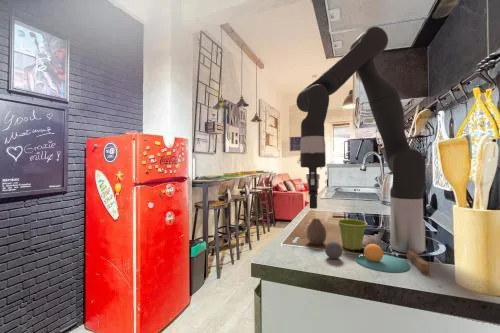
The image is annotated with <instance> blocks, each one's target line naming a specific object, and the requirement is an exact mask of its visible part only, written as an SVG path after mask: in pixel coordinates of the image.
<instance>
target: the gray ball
mask: <svg viewBox="0 0 500 333" xmlns="http://www.w3.org/2000/svg"><path fill="white" fill-rule="evenodd" d="M342 247H343V246H341V243H338V242H336V241H330V242H327V243H326V244H325V246H324V253H325V254H326V256H327V257H328V258H330V259H332V260H337V259H339V258H341V256H342V255H343V248H342Z"/></svg>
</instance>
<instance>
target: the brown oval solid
mask: <svg viewBox="0 0 500 333" xmlns="http://www.w3.org/2000/svg"><path fill="white" fill-rule="evenodd" d="M326 238H327V229H326V227H325V225H324V224H323V223H322V222H321V220H320V218H312V221H311V222H310V223H309V225H308V226H307V229H306V239H307V240H308V242H309V243H310V244H311V245H315V246H321V245H323V244H324V243H325V241H326Z"/></svg>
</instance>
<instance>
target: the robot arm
mask: <svg viewBox="0 0 500 333" xmlns="http://www.w3.org/2000/svg"><path fill="white" fill-rule="evenodd" d="M388 44H389V36H388V34H387V32H386V31H385V30H384V29H383V28H381V27H379V26H372V27H369V28H367V29H366V30H364V32H362V33H360V35H359V36H358V37H357V38H356V39H354V41H353V42H352V43H351V45H350V48H349V51H348V52H346V54H344V55H343V56H342V57H340V58H339V59H338V60H337V61H336V62H334V63H333V64H332V65H331V66H330V67H328V68H327V69H326V71H324V72H323V73H322V74H321V75H320V76H319V77H318V78H317V79H316V80H314V81H313V82H312V83H311V84H309V85H308V86H306V87H305V88H303V89H302V90H301V91H300V92H299V93H298V95H297V97H296V100H295V101H296V107H297V108H298V110H299V111H301V112H303V113H307V114H306V116H305V118H303V119H302V121H301V123H300V147H299V148H300V150H299V151H300V154H299V155H300V168H306V169H307V168H308V173H306V175H305V178H306V186H307V187H306V188H307V189H308V193H307V194H308V196H309V208H310V209H312V210H313V209H317V208H318V196H319V193H318V192H319V190H318V189H320V183H319V182H320V181H319V180H320V178H321V177H320V176H321V174H320V173H318V171H317V170H318V168H326V165H327V164H326V163H327V162H326V141H325V140H326V139H325V122H326V118H327V113H328V108H329V103H330V96H331V95H333V94H335V93H336V92H337V91H338V90H339V89H340V88H342V86H344V85H345V84H346V82H348V80H350V79H351V77H352V76H353V75H354V74H355V73H356V72H357V74H358V77H359V78H360V81H361V83H362V85H363V88H364V91H365V94H366V97H367V101H368V104H369V107H370V111H371V113H372V117H373V120H374V121H375V124H376V128H377V130H378V133H379V135H380V137H381V140H382V145H383V147H384V154H385V158H386V163H387V164H386V165H387V167H388V169H389V171H390V172H391V173H392V185H391V188H390V191H389V202H390V204H389V207H390V210H389V211H390V213H389V214H390V215H389V216H390V222H389V224H390V226H389V227H390V229H389V230H390V234H389V235H390V249H392V250H393V251H395V252H399V253H402V254H403V253H404V254H407V252H406V249H408V250H413V251H414V252H416V253H417V254H418V255H419V254H423V253H424V252H425V251H426V222H425V220H424V192H425V189H426V179H427V178H426V177H427V176H426V175H427V164H426V163H427V162H426V158H425V156H424V155H423V154H422V152H420V151H419V150H417V149H414V148H411V147H410V144H409V140H408V139H407V135H406V131H405V113H404V108H403V103H402V100H401V96H400V95H399V94H400V93H399V91H398V90H397V88H396V87H395V86H394V85H393V84H392V83H391V82H389V81H388V80H386V78H384V77H383V76H381V74H380V73H379V71H378V70H377V67H376V64H375V58H377V57H378V56H379V55H381V53H383V52H384V51H385V50H386V48H387V46H388Z"/></svg>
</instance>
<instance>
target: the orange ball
mask: <svg viewBox="0 0 500 333" xmlns="http://www.w3.org/2000/svg"><path fill="white" fill-rule="evenodd" d="M363 254H365V257H366V258H367V259H368V260H369V261H372V262H378V261H380V260H381V259H382V258H383V254H384V250H383V249H382V247H380V246H379V245H378V244H375V243H370V244H367V245H366V246H365V247H364V249H363Z"/></svg>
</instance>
